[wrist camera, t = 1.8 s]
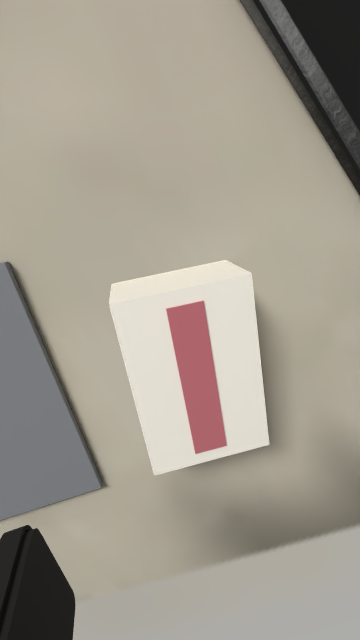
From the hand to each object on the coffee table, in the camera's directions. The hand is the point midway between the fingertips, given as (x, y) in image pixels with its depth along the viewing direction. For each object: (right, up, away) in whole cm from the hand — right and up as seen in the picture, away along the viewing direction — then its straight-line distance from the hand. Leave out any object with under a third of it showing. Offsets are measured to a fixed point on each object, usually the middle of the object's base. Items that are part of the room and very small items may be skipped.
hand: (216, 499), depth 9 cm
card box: (-1, +3, +10) cm, 10 cm away
